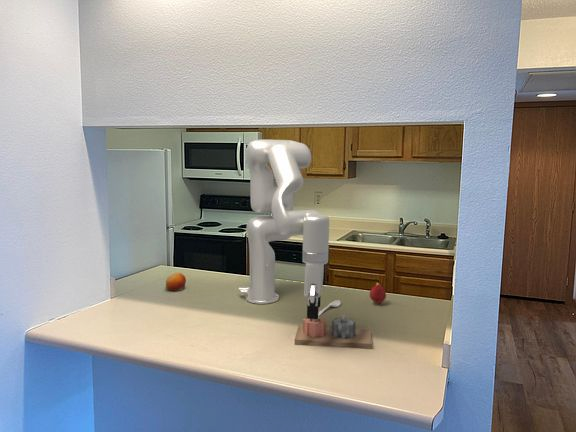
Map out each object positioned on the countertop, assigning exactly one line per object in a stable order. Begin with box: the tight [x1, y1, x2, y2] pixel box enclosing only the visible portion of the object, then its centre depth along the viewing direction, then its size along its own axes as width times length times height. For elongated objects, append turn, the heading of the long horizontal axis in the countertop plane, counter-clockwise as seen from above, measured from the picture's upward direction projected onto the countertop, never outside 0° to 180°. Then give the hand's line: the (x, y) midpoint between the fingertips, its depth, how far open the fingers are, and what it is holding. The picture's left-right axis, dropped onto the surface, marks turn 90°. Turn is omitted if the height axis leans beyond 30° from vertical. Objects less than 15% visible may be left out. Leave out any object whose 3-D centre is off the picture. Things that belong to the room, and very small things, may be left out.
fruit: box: [165, 272, 187, 292], centre depth 183 cm, size 8×8×8 cm
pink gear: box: [302, 316, 328, 337], centre depth 135 cm, size 7×7×4 cm
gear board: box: [293, 313, 373, 350], centre depth 134 cm, size 22×11×8 cm, turn 82°
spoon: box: [318, 299, 342, 317], centre depth 159 cm, size 4×21×2 cm, turn 145°
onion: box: [369, 282, 387, 305], centre depth 165 cm, size 6×6×8 cm
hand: (313, 312), depth 135 cm, fingers open, 9 cm apart
